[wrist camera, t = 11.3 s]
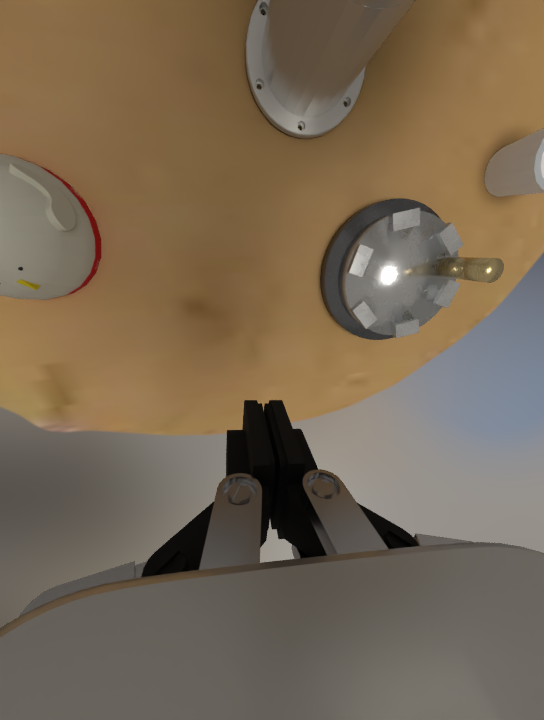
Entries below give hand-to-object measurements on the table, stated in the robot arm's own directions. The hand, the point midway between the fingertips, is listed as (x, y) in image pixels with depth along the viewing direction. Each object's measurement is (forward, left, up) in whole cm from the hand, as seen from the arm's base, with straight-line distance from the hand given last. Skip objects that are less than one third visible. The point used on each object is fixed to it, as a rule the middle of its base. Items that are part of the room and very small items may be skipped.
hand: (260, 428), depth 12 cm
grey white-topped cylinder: (-20, +34, -27) cm, 48 cm away
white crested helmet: (-7, -23, -27) cm, 36 cm away
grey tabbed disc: (-6, +20, -25) cm, 32 cm away
